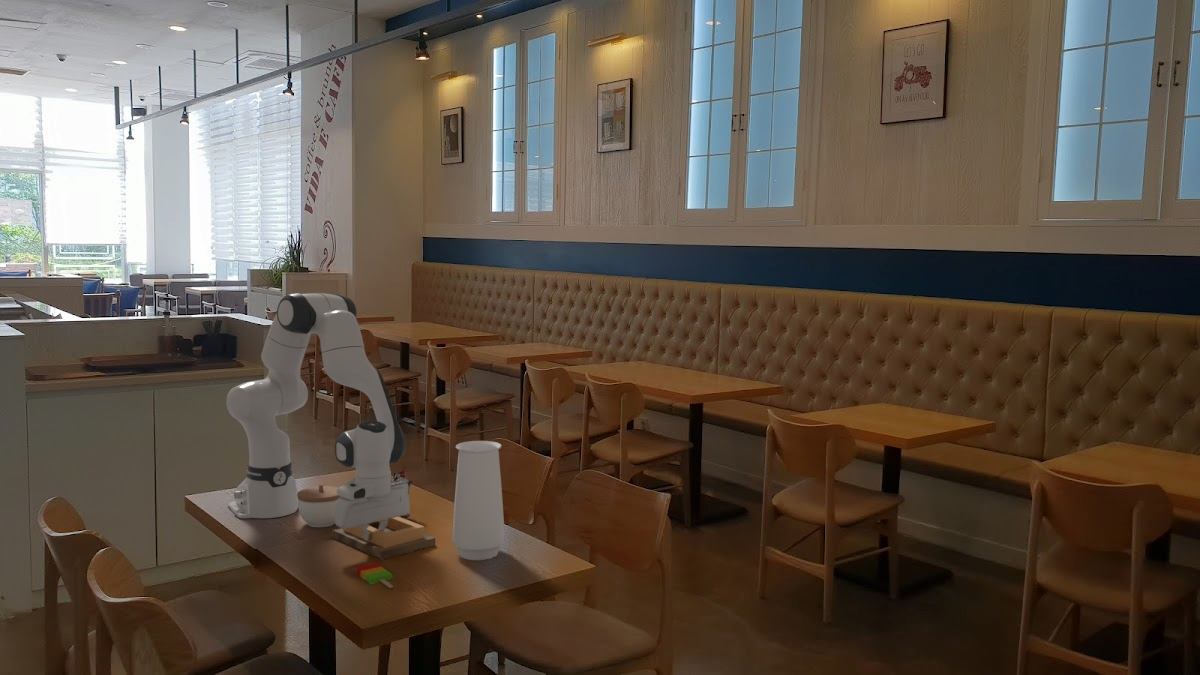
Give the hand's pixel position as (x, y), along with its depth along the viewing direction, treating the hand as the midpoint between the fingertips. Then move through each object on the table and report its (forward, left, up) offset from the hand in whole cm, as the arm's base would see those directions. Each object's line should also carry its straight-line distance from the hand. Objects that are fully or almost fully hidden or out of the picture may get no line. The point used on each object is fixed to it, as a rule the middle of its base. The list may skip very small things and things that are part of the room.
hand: (373, 538), depth 237 cm
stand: (-3, +5, -3) cm, 7 cm away
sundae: (-19, +21, -3) cm, 29 cm away
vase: (+22, +17, -3) cm, 28 cm away
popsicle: (+20, -11, -4) cm, 23 cm away
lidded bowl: (-28, +1, -3) cm, 29 cm away
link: (-3, +5, -1) cm, 6 cm away
